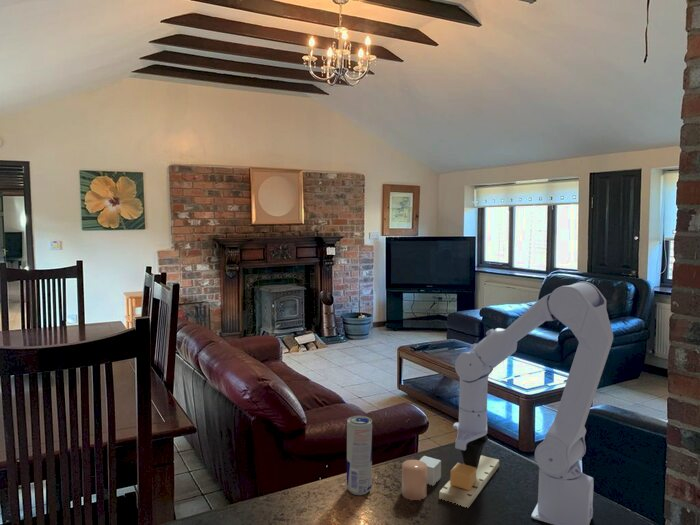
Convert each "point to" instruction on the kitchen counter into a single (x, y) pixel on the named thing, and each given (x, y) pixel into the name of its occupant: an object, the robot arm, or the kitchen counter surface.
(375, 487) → the kitchen counter surface
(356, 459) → the beverage can
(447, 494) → the counting board
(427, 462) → the grey block
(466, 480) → the tan square block
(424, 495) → the tan rounded cylinder
